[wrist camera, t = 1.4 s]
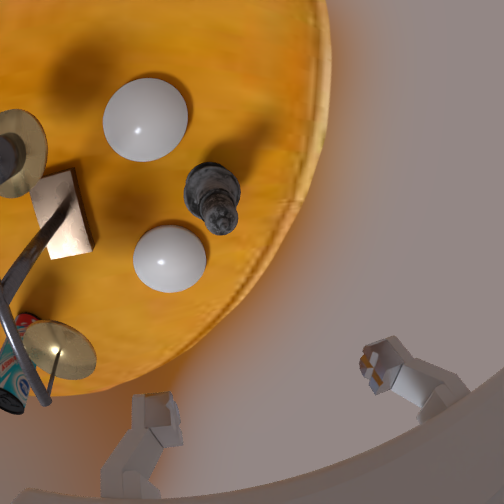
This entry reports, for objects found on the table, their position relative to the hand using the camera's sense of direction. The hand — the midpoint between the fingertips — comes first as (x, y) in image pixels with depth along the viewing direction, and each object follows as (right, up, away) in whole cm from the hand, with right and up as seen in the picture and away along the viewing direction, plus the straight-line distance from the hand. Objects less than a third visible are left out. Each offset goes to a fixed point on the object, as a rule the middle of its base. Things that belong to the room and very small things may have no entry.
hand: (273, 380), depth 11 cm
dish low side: (-12, +19, +17) cm, 28 cm away
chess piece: (-6, +13, +22) cm, 26 cm away
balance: (-23, +10, +19) cm, 31 cm away
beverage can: (-35, -6, +25) cm, 43 cm away
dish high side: (-11, +4, +25) cm, 28 cm away
